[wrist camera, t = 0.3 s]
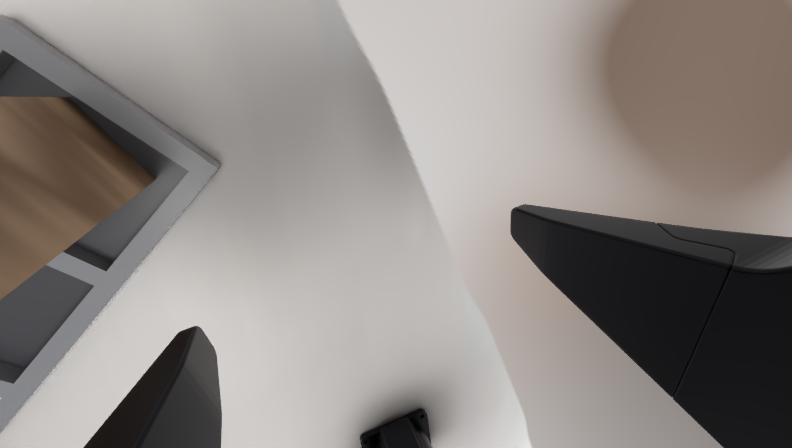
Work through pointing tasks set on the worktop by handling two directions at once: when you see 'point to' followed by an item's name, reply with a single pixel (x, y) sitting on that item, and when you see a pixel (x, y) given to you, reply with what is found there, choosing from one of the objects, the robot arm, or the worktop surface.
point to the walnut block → (55, 181)
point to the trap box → (108, 241)
